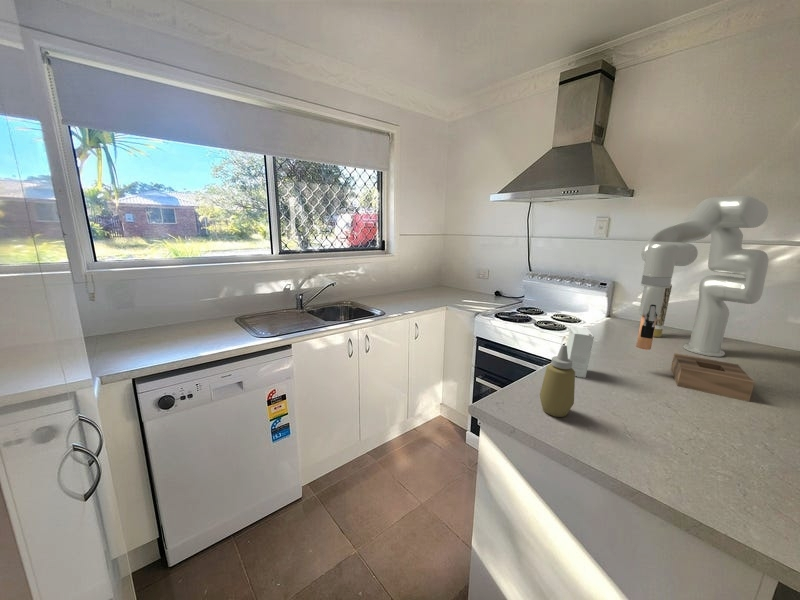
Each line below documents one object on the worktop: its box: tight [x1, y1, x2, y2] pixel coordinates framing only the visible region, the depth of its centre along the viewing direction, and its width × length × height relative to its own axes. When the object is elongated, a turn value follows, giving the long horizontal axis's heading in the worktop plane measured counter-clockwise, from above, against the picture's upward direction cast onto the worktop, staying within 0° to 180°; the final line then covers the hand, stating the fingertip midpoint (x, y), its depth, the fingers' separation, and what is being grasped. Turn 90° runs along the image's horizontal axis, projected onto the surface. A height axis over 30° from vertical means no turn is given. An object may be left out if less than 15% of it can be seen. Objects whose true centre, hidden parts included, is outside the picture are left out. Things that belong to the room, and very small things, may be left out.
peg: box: [635, 314, 657, 351], centre depth 108 cm, size 4×4×14 cm
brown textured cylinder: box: [653, 283, 673, 338], centre depth 152 cm, size 7×7×25 cm
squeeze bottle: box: [539, 344, 576, 418], centre depth 83 cm, size 8×8×18 cm
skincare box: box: [566, 325, 595, 379], centre depth 108 cm, size 8×6×15 cm
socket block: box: [670, 352, 755, 402], centre depth 104 cm, size 16×16×6 cm
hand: (645, 335), depth 109 cm, fingers closed on peg, 4 cm apart
